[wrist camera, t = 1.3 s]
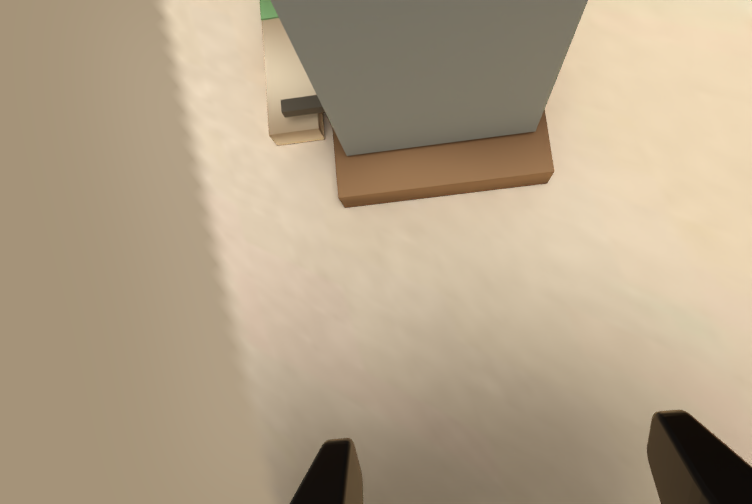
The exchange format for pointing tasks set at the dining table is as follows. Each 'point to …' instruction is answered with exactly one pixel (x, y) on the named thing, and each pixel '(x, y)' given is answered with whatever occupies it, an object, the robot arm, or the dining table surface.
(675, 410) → the robot arm
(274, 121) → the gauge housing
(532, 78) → the gauge carriage
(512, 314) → the dining table surface
